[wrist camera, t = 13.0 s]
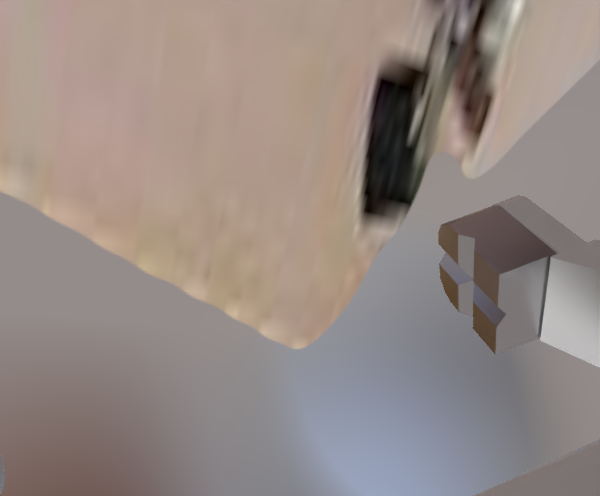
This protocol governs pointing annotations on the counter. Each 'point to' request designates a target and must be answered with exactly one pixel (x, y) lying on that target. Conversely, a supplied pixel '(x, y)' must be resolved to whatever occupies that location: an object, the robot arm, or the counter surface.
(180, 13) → the counter surface
